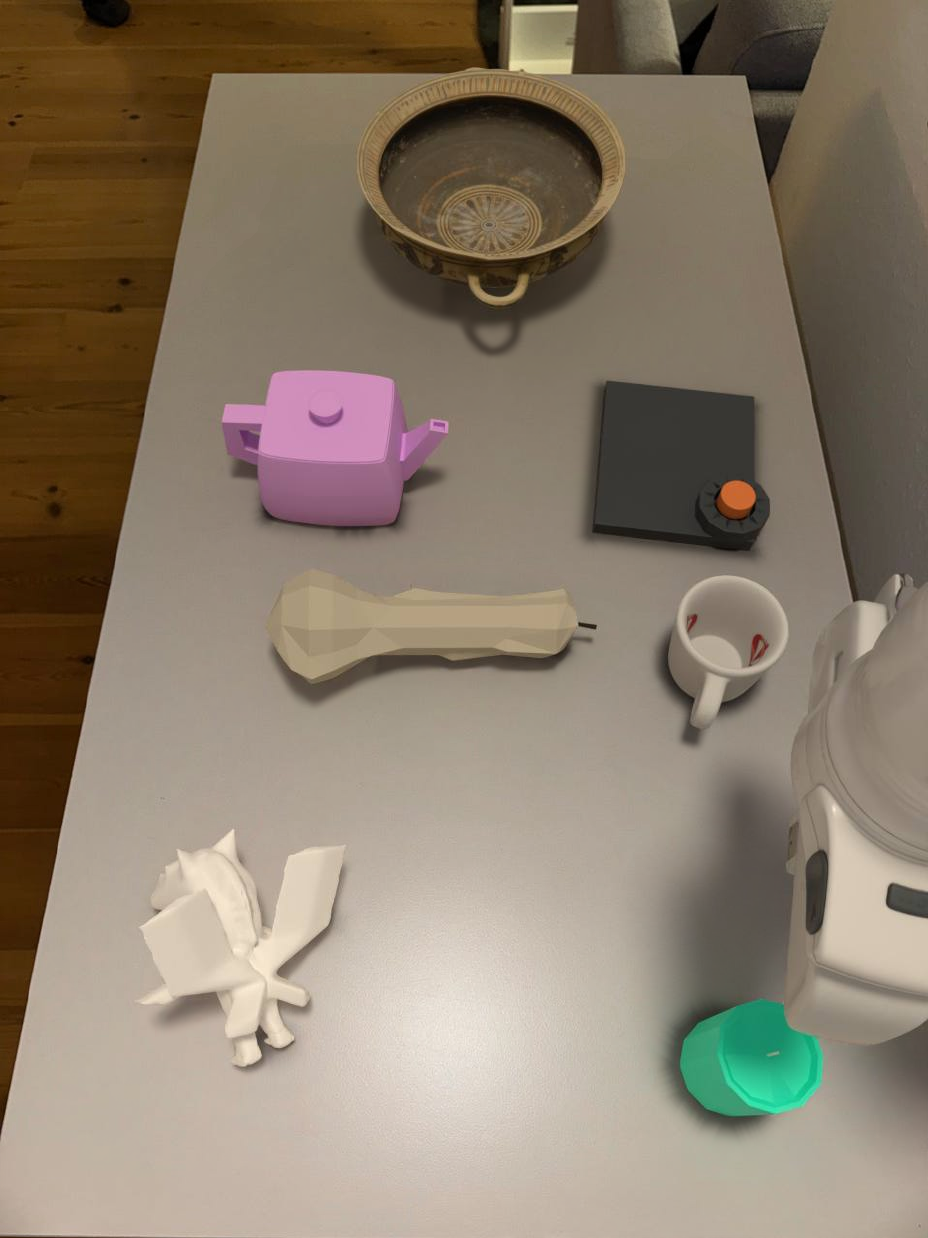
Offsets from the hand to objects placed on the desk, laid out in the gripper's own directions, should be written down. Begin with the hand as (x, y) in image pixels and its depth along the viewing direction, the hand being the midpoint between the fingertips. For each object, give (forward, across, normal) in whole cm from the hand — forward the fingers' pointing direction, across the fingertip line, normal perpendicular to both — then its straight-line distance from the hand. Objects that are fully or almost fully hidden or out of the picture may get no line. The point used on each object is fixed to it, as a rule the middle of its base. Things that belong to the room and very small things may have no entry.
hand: (802, 850), depth 55 cm
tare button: (+16, -32, -3) cm, 36 cm away
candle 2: (+19, -15, -24) cm, 34 cm away
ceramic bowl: (+19, -59, -29) cm, 68 cm away
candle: (+19, +10, +2) cm, 21 cm away
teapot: (+19, -29, -35) cm, 50 cm away
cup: (+19, -17, -3) cm, 26 cm away
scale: (+18, -37, -8) cm, 42 cm away
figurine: (+19, +10, -32) cm, 38 cm away
